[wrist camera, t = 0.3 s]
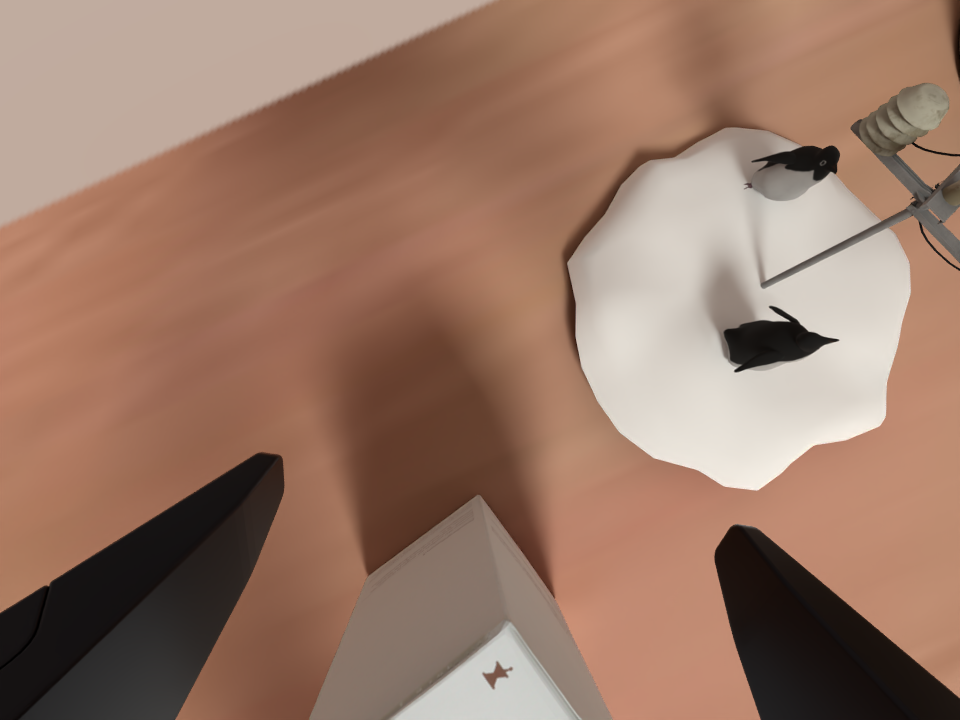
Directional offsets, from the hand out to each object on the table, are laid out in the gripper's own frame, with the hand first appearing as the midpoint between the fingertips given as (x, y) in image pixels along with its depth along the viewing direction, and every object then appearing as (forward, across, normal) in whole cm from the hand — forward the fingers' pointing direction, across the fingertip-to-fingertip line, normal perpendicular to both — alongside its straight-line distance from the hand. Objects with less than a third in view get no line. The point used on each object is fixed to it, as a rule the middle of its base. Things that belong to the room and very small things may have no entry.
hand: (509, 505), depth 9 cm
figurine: (+18, -13, +1) cm, 22 cm away
